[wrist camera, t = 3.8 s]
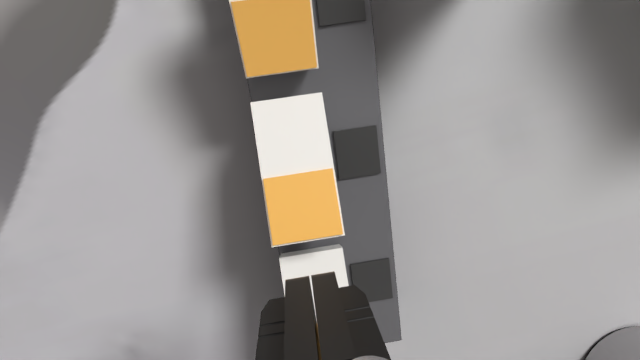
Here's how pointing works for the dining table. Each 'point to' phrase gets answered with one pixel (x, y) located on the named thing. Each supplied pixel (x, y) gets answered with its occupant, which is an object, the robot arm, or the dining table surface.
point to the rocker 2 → (297, 169)
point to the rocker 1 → (275, 36)
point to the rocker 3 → (314, 264)
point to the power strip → (350, 148)
